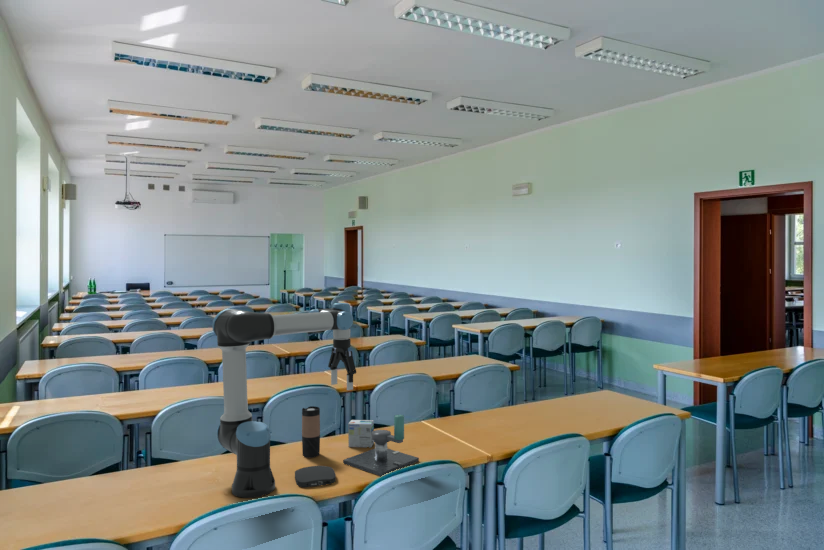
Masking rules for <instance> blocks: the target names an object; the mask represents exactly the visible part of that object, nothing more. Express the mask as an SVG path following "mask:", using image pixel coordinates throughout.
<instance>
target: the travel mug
mask: <svg viewBox="0 0 824 550" xmlns="http://www.w3.org/2000/svg"><path fill="white" fill-rule="evenodd" d="M320 410H321V409H320V407H319V406H314V405H313V406H310V405H309V406H308V407H302V409H301V441H302V442H301V445H302V448H301V449H302V457H303V456H304V458H306V459H311V458H316V457H317V458H318V457H319V456H320V454H321V453H320V450H321V449H320V448H321V446H320V445H321V411H320Z"/></svg>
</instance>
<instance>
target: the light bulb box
mask: <svg viewBox="0 0 824 550" xmlns="http://www.w3.org/2000/svg"><path fill="white" fill-rule="evenodd" d="M374 424H375V423H374V420H373V419H351V420H350V421H349V422H348V424H347V425H348V427H347V428H348V429H347V433H348V437H347V438H348V448H367V447H369V449H370V448H372V447H373V445H375V442H372V441H371V433H372V432H373V431H375V430H374V429H375V427H374V426H375V425H374Z"/></svg>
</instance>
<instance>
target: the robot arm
mask: <svg viewBox="0 0 824 550" xmlns="http://www.w3.org/2000/svg"><path fill="white" fill-rule="evenodd" d="M353 324H354V317H353V315H352V313H351V305H350V303H348V302H337V303H335V302H334V303H333V304H332V307H331V308H316V309H311V310H309V312H301V313H287V314H275V315H274V314H273V315H272V313H270V312H265V313H264V312H253V311H248V310H241V309H238V308H226V309H224V310H223V309H222V310H221V311H220V312H218V313H217V314H216V315H215V316H214V317H213V320H212V325H211V328H212V331H213V333H214V335H215V336H216V337H217V338H216V339H217V340H216V342H217V348H218V349H220V350H221V353H222V354H221V355H222V358H221V359H222V383H223V384H222V385H223V414H222V415H221V416H220V418H219V419H220V420H219V425H218V426H217V428H216V431H215V434H216V436H215V437H216V440H217V442H218V443H219V445H220V446H221V447H222V448H223V449H224V450H226V451H229V452H231V453H232V454H234V455H236V472H235V474H234V478H233V481H232V484H231V493H232V495H233V496H235V497H238V498H243V499H247V498H248V499H251V498H258V497H259V498H260V497H263V496H262V495H264V496H266V495H268V494H270V492H271V493H273V492H274V491H275V489H276V480H275V477H274V474H273V471H272V468H271V433H270V432H271V430H270V427H269V425H267V424H266V423H265V422H262V421H255V420H253V414H252V413H251V412H250V411H249V409H248V408H249V406H248V405H249V404H248V380H247V377H248V376H247V348H248V346H249V345H250V342H251V343H252V342H256V341H263V340H269V339H270V340H271V339H272V338H274V336H285V335H295V334H301V333H302V334H303V333H315V332H322V331H324V332H325V331H332V337H333V340H332V344H333V345H332V347H331V353H330V358H329V361H328V366H327V367H328V368H329V369H330V375H331V376H330V385H331V386H333V385H338V365H339V364H340V361H341V362H342V363H343V365H344V367H345V370H346V391H351V390H352V391H353V390H354V375H356V374H357V369H356V365H355V361H354V357H353V351H352V350H349V348H350V347H351V341H352V340H351V331H352V330H351V327H352V326H353ZM265 494H266V495H265Z"/></svg>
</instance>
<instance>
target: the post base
mask: <svg viewBox="0 0 824 550" xmlns="http://www.w3.org/2000/svg"><path fill="white" fill-rule="evenodd" d="M419 462H420V459H419V457H418V456H414V455H410V454H408V453H405V452H404V453H403V452H401V451H399V450H393V449H390V448H388V442H386V443H375V442H374V448H372V449H370V450H367V451H364V452H361V453H357V454H356V455H353V456H350V457H346V458H344V459H342V464H343V463H344V464H343V465H346V464H347V466H349V465H350V467H353V468H355V469H357V470H361V471H364V472H367V473H369V474H372V475H376V476H378V477H381V476H382V475H384V474H386V473H389V472H391V471H394V470H396V469H399V468H402V467H404V468H406V467H405V466H407V467H408V465H409V466H411V465H414V464H416V463H419ZM402 469H403V468H402ZM399 470H400V469H399Z"/></svg>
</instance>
